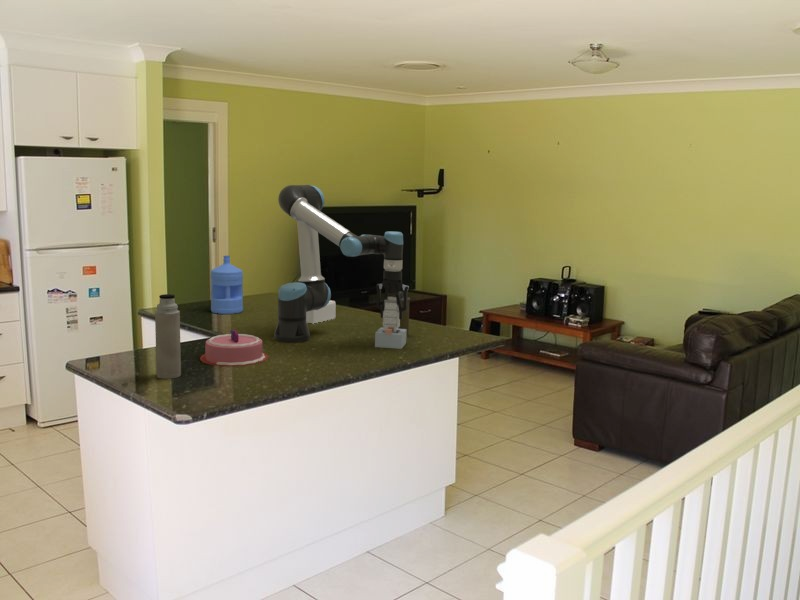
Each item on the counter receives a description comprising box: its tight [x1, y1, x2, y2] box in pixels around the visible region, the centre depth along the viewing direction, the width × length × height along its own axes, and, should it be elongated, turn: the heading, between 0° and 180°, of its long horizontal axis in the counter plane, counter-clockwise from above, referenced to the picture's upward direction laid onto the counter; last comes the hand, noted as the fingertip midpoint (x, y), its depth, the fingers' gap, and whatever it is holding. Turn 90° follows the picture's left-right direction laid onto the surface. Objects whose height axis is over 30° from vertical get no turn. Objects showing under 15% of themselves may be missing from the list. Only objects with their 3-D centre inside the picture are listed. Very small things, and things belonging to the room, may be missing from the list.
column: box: [383, 296, 399, 333], centre depth 300 cm, size 5×7×19 cm
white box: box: [306, 299, 337, 325], centre depth 353 cm, size 18×18×16 cm
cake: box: [199, 329, 269, 367], centre depth 276 cm, size 25×25×11 cm
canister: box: [388, 291, 411, 338], centre depth 319 cm, size 11×10×20 cm
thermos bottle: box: [154, 293, 182, 380], centre depth 248 cm, size 8×8×28 cm
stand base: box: [374, 327, 407, 350], centre depth 301 cm, size 13×13×9 cm
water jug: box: [210, 255, 244, 315], centre depth 363 cm, size 16×16×28 cm
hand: (391, 326), depth 300 cm, fingers closed on column, 5 cm apart
